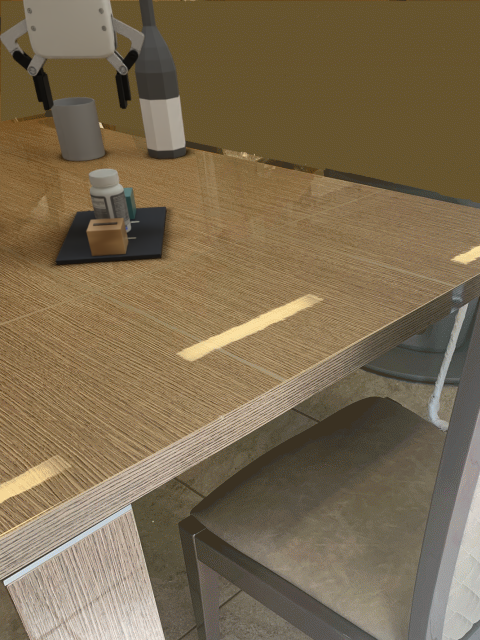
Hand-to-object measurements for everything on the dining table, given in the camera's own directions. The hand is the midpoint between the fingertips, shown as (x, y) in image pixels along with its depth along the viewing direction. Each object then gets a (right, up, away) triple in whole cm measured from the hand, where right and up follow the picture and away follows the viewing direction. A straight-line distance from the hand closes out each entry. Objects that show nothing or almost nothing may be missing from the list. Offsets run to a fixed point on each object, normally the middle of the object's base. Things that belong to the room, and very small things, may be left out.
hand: (87, 107), depth 85 cm
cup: (-17, +13, +46) cm, 51 cm away
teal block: (0, -9, +16) cm, 18 cm away
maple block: (+2, -18, +5) cm, 18 cm away
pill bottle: (+1, -13, +10) cm, 17 cm away
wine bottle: (0, +14, +47) cm, 49 cm away
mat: (+1, -14, +10) cm, 17 cm away
